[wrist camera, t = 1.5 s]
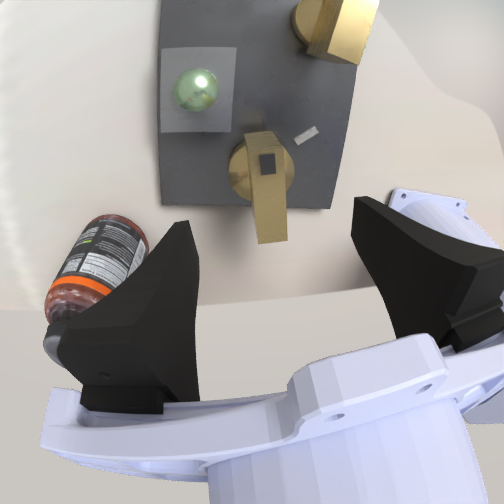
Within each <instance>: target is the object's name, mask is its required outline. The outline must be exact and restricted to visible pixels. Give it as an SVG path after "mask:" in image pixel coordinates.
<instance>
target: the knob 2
mask: <svg viewBox="0 0 504 504" xmlns="http://www.w3.org/2000/svg"><path fill="white" fill-rule="evenodd" d="M378 3H379V0H301V1H300V2H299V3H298V4H297V5H296V6H295V8H294V10H293V13H292V25H293V29H294V31H295V33H296V35H297V36H298V37H299V39H300V40H301V41H302V42H303V43H305V44H306V45H307V46H308V49H307V53H306V54H308V55H311V56H314V57H317V58H320V59H323V60H325V61H328V62H331V63H337V64H350V65H359V64H360V61H361V58H362V55H363V51H364V48H365V45H366V42H367V39H368V36H369V33H370V29H371V26H372V23H373V20H374V16H375V13H376V10H377V6H378Z"/></svg>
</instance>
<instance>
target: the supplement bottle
mask: <svg viewBox="0 0 504 504" xmlns="http://www.w3.org/2000/svg"><path fill="white" fill-rule="evenodd" d="M148 253H149V246H148V242H147V239H146V237H145V235H144V233H143V232H142V230H141V229H140V228H139V227H138V226H137V225H136V224H135V223H133V222H132V221H130V220H129V219H127V218H124V217H122V216H119V215H102V216H99V217H97V218H95V219H94V220H92V221H91V222H90V223H89V224H88V225H87V227H86V228H85V229H84V231H83V232H82V234H81V235H80V237H79V239H78V240H77V242H76V243H75V245H74V247H73V248H72V250H71V252H70V253H69V255H68V257H67V258H66V260H65V262H64V264H63V265H62V267H61V269H60V271H59V273H58V274H57V276H56V278H55V280H54V281H53V284H52V286H51V288H50V289H49V291H48V294H47V297H46V300H45V315H46V318H47V321H48V322H49V324H50V325H49V326H48V328H47V333H46V335H45V338H44V341H43V347H44V350H45V352H46V353H47V354H48V356H49V357H50V358H51V359H52V360H53V361H54V362H56V363H57V364H58V365H60V366H62V367H63V368H65V367H64V366H63V365H62V364H61V362H60V361H59V359H58V357H57V352H56V349H57V346H58V343H59V340H60V338H61V335H62V332H63V329H64V326H65V324H66V321H67V320H69V319H71V318H72V317H74V316H76V315H78V314H79V313H81V312H83V311H84V310H86V309H88V308H89V307H91V306H92V305H94V304H95V303H96V302H98V301H99V300H101V299H102V298H103V297H105V296H106V295H107V294H109V293H110V292H111V291H112V290H113V289H115V288H116V287H117V286H118V285H119V284H121V283H122V282H123V281H124V280H125V279H126V278H127V277H128V276H129V275H130V274H132V273H133V272H134V271H135V270H136V269H137V267H138V266H139V265H140V264H141V263H142V262H143V261H144V260H145V259H146V257H147V256H148ZM65 369H66V368H65Z"/></svg>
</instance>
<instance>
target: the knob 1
mask: <svg viewBox="0 0 504 504" xmlns="http://www.w3.org/2000/svg"><path fill="white" fill-rule="evenodd" d="M244 137H245V141H243V142H242V143H240V144H239V145H238V146H237V147H236V148H235V149H234V151H233V152H232V154H231V156H230V159H229V166H228V168H229V180H230V183H231V185H232V187H233V189H234V190H235V191H236V192H237V193H238V194H239V195H240V196H241V197H243V198H245V199H247V200H249V201H252V209H253V215H254V221H255V227H256V233H257V239H258V244H264V243H272V242H280V241H288V240H287V210H286V191H287V190H288V188H289V187H290V185H291V183H292V181H293V178H294V164H293V161H292V159H291V157H290V155H289V154H288V152H287V150H286V149H285V148H284V147H283V146H282V145H281V144H280V142H279V141H278V139H277V138H276V136H275V135H274V133H273V132H272V131H266V132H256V133H247V134H244Z"/></svg>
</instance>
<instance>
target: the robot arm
mask: <svg viewBox="0 0 504 504" xmlns="http://www.w3.org/2000/svg"><path fill="white" fill-rule="evenodd" d="M402 194H404V195H403V196H402ZM401 196H402V197H401ZM466 207H467V202H466V201H465V200H463V199H458V198H453V197H448V196H442V195H437V194H431V193H425V192H419V191H413V190H406V189H400V188H397V189H395V190H394V191H393V193H392V195H391V199H390V202H389V205H388V206H386V205H385V204H383V203H381V202H379V201H377V200H375V199H373V198H370V197H368V196H363V197H354V208H353V219H352V229H351V237H352V240H353V242H354V245H355V247H356V250H357V252H358V254H359V256H360V258H361V259H362V261H363V263H364V265H365V266H366V268H367V270H368V272H369V273H370V275H371V277H372V279H373V280H374V282H375V284H376V286H377V288H378V289H379V291H380V294H381V295H382V297H383V300H384V303H385V305H386V308H387V311H388V313H389V316H390V319H391V322H392V325H393V328H394V331H395V335H396V340H392V341H389V342H386V343H382V344H378V345H375V346H371V347H367V348H363V349H359V350H355V351H351V352H347V353H343V354H338V355H334V356H329V357H326V358H323V359H321V360H317V361H315V362H311V363H309V364H307V365H306V366H304V367H303V368H301V369H300V370H298V371H296V372H295V373H294V374H293V376H292V377H291V379H290V381H289V383H288V384H287V391H286V392H280V393H273V394H267V395H260V396H252V397H245V398H235V399H225V400H213V401H200V396H199V387H198V376H197V364H196V349H195V348H196V347H195V317H196V307H197V297H198V288H199V256H198V253H197V249H196V245H195V242H194V238H193V235H192V231H191V227H190V224H189V220H186V221H180V222H175V223H174V224H173V225H172V226H171V228H170V229H169V230H168V231H167V233H166V234H165V235H164V237H163V238H162V239H161V240H160V242H159V243H158V244H157V245H156V247H155V248H154V249H153V250H152V252H151V253H150V254H149V255H148V256H147V257H146V259H145V260H144V261H143V262H142V263H141V264H140V265H139V266H138V267H137V269H136V270H135V271H134V272H133V273H132V274H130V275H129V276H128V277H127V278H126V279H125V280H124V281H123V282H122V283H121V284H119V285H118V286H117V287H116V288H115V289H113V290H112V291H111V292H110V293H109V294H107V295H106V296H105V297H103V298H102V299H101V300H99V301H98V302H96V303H95V304H94V305H92V306H91V307H89V308H88V309H86V310H84V311H83V312H81V313H79V314H78V315H76V316H74V317H72V318H71V319H69V320H67V321H66V324H65V326H64V329H63V332H62V335H61V338H60V340H59V343H58V346H57V349H56V352H57V357H58V359H59V361H60V362H61V364H62V365H63V366H64V367H65V368H66V369H67V370H68V371H69V372H70V373H71V374H72V375H73V376H74V377H75V378H76V379H77V380H78V381H80V382H81V383H82V384H83V388H82V393H81V392H79V391H77V390H73V389H65V388H56V387H53V388H51V392H50V396H49V400H48V405H47V409H46V414H45V418H44V423H43V429H42V434H41V441H40V446H41V447H42V448H44V449H46V450H48V451H50V452H52V453H54V454H56V455H58V456H60V457H63V458H65V459H67V460H69V461H71V462H74V463H76V464H78V465H81V466H85V467H90V468H94V469H99V470H104V471H109V472H114V473H120V474H126V475H132V476H139V477H145V478H153V479H162V480H172V481H187V482H208V485H209V498H210V504H489V502H488V497H487V493H486V489H485V485H484V481H483V478H482V474H481V471H480V467H479V464H478V461H477V458H476V454H475V451H474V448H473V445H472V442H471V439H470V437H469V434H468V431H467V428H466V426H465V423H464V421H463V418H464V419H465V421H466V422H467V423H469V424H493V423H504V251H503V250H501V249H500V247H499V246H498V244H497V243H496V242H495V241H494V240H493V239H492V238H491V237H490V236H489V235H488V234H487V233H486V232H485V231H484V230H483V229H482V228H481V227H480V226H479V225H478V224H477V223H476V222H475V221H474V220H473V219H472V218H471V217H470V216H469V215H468V214H467V213H466V212H465V209H466ZM462 417H463V418H462Z"/></svg>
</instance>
